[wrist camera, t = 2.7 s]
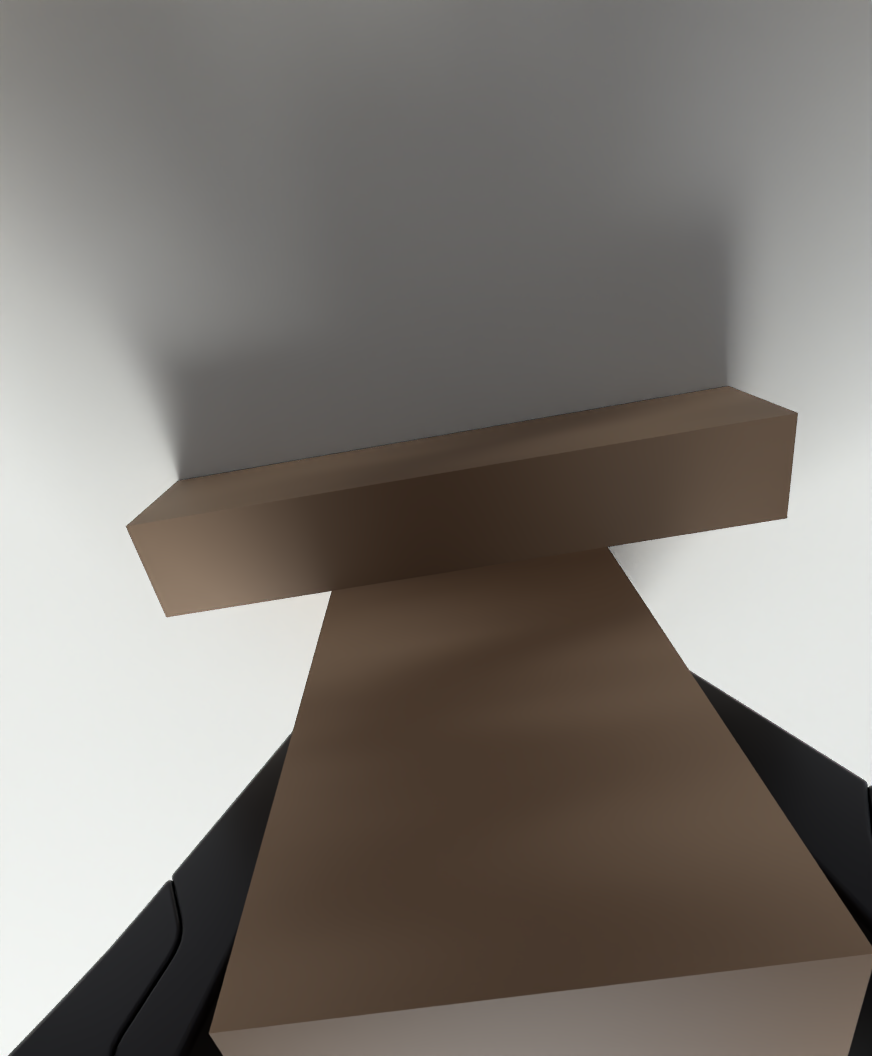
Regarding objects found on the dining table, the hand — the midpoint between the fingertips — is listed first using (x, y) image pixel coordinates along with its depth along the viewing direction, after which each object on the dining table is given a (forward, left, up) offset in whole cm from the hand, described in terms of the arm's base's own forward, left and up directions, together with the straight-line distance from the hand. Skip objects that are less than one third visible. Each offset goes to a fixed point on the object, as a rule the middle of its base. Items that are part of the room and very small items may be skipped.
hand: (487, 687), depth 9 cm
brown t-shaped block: (0, 0, -2) cm, 2 cm away
